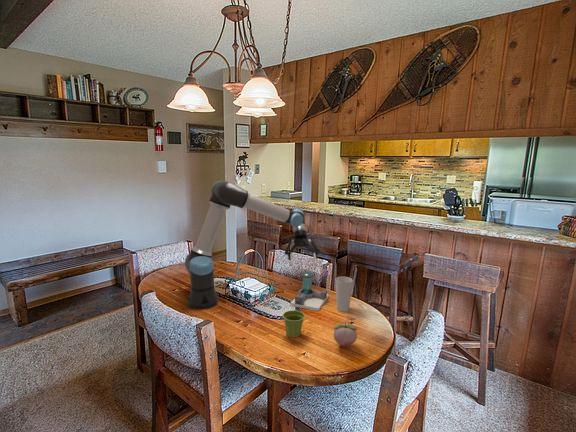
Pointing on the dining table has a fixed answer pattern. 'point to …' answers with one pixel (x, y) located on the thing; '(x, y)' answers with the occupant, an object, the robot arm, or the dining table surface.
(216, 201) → the robot arm
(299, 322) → the plant pot
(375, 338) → the dining table surface
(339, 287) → the cup
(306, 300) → the shaft board
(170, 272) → the dining table surface
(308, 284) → the cylinder
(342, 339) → the decorative fruit
